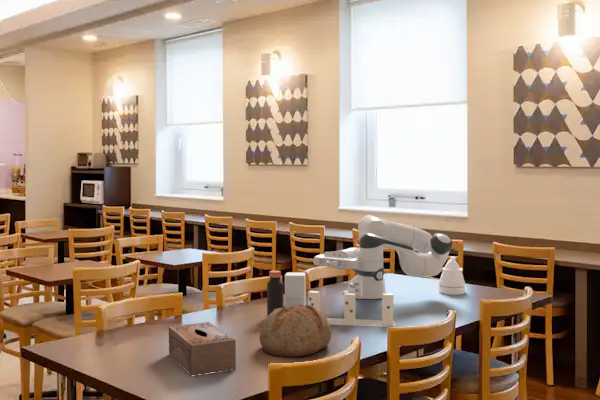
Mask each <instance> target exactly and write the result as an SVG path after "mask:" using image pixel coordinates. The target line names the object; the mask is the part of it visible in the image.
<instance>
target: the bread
mask: <svg viewBox="0 0 600 400" xmlns="http://www.w3.org/2000/svg"><path fill="white" fill-rule="evenodd" d="M326 318H327V317H326V316H325V314H323V312H322V311H321V310H320V311H319V310H317V309H315V308H313V307H312V306H309V305H308V304H306V305H305V306H304V305H296V306H292V307H290V308H285V307H283V308H277V309H274V310H273V312H272V313H271V314H269V315H268V316H267V315H266V318H265V319H264V320H263V323H262V324H261V327H260V331H259V342H260V343H259V344H260V345H261V347H262V349H263V350H264V351H265V352H266V353H269V354H270V355H272V356H278V357H290V358H293V357H294V358H298V357H304V356H308V355H312V354H314V353H316V352H318V351H320V350H322V349H324V348H325V347H327V346H328V345H329V343H330V342H331V340H332V335H333V334H332V333H333V332H332V327H331V325H330V324H329V323H328V321H327V319H326Z"/></svg>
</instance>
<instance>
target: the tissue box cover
mask: <svg viewBox="0 0 600 400" xmlns="http://www.w3.org/2000/svg"><path fill="white" fill-rule="evenodd" d="M236 341H237V340H236V339H235V338H234V337H232V336H231V335H229V334H227V333H226V332H224V331H223V330H222V329H220V328H219V327H217V326H216V325H214V324H213V323H211V322H210V321H205V322H198V323H197V322H196V323H191V324H190V323H189V324H180V325H174V326H173V325H172V326H168V355H169V354H170V355H171V356H172V357H173V358H174V359H175V360H176V361H177V362H178V363H180V364H181V365H182V366H183V367H184V368H185V369H186V370H187V371H188V372H189V373H190V374H191V375H198V374H205V373H210V372H219V371H225V370H231V369H236V370H237V367H236V366H237V359H236V357H237V356H236V355H237V354H236V353H237V352H236V351H237V349H236V348H237V347H236V346H237V345H236V343H237V342H236ZM170 355H169V356H170ZM171 356H170V357H171ZM172 357H171V358H172ZM173 358H172V359H173ZM174 359H173V360H174ZM175 360H174V361H175ZM176 361H175V362H176ZM177 362H176V363H177ZM178 363H177V364H178ZM182 366H181V367H182ZM183 367H182V368H183ZM184 368H183V369H184ZM185 369H184V370H185ZM186 370H185V371H186ZM187 371H186V372H187ZM231 371H232V370H231ZM188 372H187V373H188ZM225 372H226V371H225ZM189 373H188V374H189ZM219 373H220V372H219ZM190 374H189V375H190ZM191 375H190V376H191Z"/></svg>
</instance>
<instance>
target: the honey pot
mask: <svg viewBox="0 0 600 400" xmlns="http://www.w3.org/2000/svg"><path fill="white" fill-rule="evenodd" d="M456 259H457V258H456V256H450V259H449V260H448V261H446V262H445V263H446V264H444V266H443V267H442V272H441V275H440V278H439V281H438V293H441V294H443V295H450V296H452V295H453V296H454V295H464V294H465V293H466V282H465V279H464V278H465V277H464V274H463V273H462V272H463V270H464V269H463V267H460V265H459V263H458V262H457V260H456Z"/></svg>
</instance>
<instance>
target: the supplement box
mask: <svg viewBox="0 0 600 400" xmlns="http://www.w3.org/2000/svg"><path fill="white" fill-rule="evenodd" d="M306 275H307V274H306V272H296V271H295V272H292V271H289V272H286V273H285V274H284V309H287V308H290V307H292V306H296V305H304V306H306V305H307V291H306V288H307V287H306V286H307V285H306V284H307V283H306V282H307V281H306V278H307V277H306Z"/></svg>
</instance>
